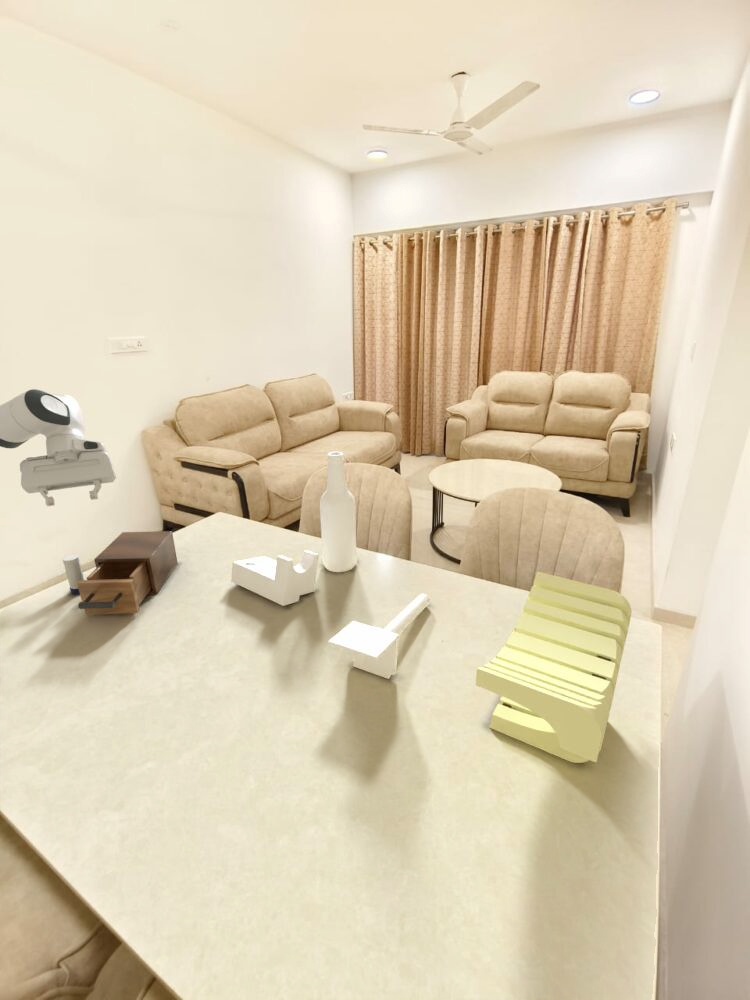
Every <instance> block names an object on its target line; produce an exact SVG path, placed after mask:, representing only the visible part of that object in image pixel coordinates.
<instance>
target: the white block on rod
mask: <svg viewBox="0 0 750 1000" xmlns="http://www.w3.org/2000/svg"><path fill="white" fill-rule="evenodd" d="M430 603H431V598H430V596H429V595H427V594H426V593H420V594H419V595H418V596H417V597H416V598H415V599H414V600H412V601H411V602H410V603H409V604H408V605H407V606H406V607H405V608H404V609H403V610H402V611H401V612H400V613H398V615H396V617H394V619H392V620H391V621H390V622H389V623H388V624H387V625H386V626H385V627H384V628H382V627H378V626H372V625H369V624H366V623H363V622H359V621H357V620H352V621H351V622H350V623H348V624H347V625H346V626H345V627H344V628H342V629H341V630H340V631H338V632H337V634H335V635H333V637H331V638H330V639H329V640H328V641H327V642H328V643H327V644H328V645H331V646H334V647H336V648H340V649H342V650H346V651H348V652H349V654H348V660H349V661H352V666H353V667H354V668H357V669H360V670H362V671H365V672H367V673H370V674H373V675H376V676H378V677H381V678H385V679H388V680H390V678H391V677H392V676H395V675H396V674H397V670H398V669H397V667H398V652H399V638H400V637H399V636H400V634H401V633H403V631H404V630H406V628H407V627H408V626H410V624H411V623H412V622H413V621H415V619H416V618H417V617H418V616H419V615H420V614H421V613H422V612H423V611H424V610H425V608H427V607H428V606H429V605H430Z"/></svg>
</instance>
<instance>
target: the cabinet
mask: <svg viewBox="0 0 750 1000" xmlns="http://www.w3.org/2000/svg"><path fill="white" fill-rule="evenodd" d="M93 560H94V564H95V565H94V566H95V569H96V568H97V567H98V566H99V565H100V564H101V563H102V562H132V561H147V565H148V570H149V575H150V579H151V584H152V588H151V590H150V591H149V592H148V594H147V595H157V594H158V593H159V592H160V590H161V589H162V587H163V586H164V585H165V583H166V582H167V580H168V579H169V578H170V576H172V573H173V572H174V571H175V569H176V568H177V566H178V565H179V562H178V556H177V550H176V544H175V540H174V535H173V530H166V531H165V530H163V531H162V530H161V531H122V532H121V533H120V534H119V535H118V536H117V537H116V538H114V539H113V540H112V542H111V543H110V544H109V545H108V546H107V547H105V548H104V549H103V550H102V551H101V552H100V553H99V554H98V555H97V556H96V557H95V558H94V559H93Z"/></svg>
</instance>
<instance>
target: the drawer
mask: <svg viewBox="0 0 750 1000" xmlns="http://www.w3.org/2000/svg"><path fill="white" fill-rule="evenodd" d="M77 585H78V589H79V593H80V594H79V596H80V600H81V601H80V602H79V603H78V605H77V608H78V609H79V610H83V612H84V614H85V615H98V614H99V615H101V614H138V613H139V612H140V609H141V608H140V605H141V603H142V602H143V600H145V598H146V597H147V595H149V594H148V592H149V591H150V590H151V588H152V584H151V579H150V575H149V570H148V565H147V561H132V562H102V563H101V564H100V565H99V566H98V567H97V568H96V567H95V569H94V570H93V571H91V572H90V574H89V575H88V576H87V577H86V579H84V580H80V581H79V582H77Z"/></svg>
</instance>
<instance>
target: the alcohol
mask: <svg viewBox="0 0 750 1000" xmlns="http://www.w3.org/2000/svg"><path fill="white" fill-rule="evenodd" d="M344 456H345V454H344V453H343V452H341V451H329V452H327V454H326V457H327V459H326V461H327V477H326V478H327V483H326V489H325V491H324V492H323V493H322V494H321V497H320V500H319V518H320V519H319V520H320V534H321V535H320V536H321V550H322V551H321V552H322V553H321V554H322V555H321V556H322V564H323V566H324V568H325V569H326V570H327V571H330V572H333V573H345V572H349V571H350V570H352V569H354V568H355V567H356V565H357V563H358V553H357V552H358V551H357V521H356V520H357V519H356V500H355V497H354V494H353V493H352V492H351V491H350V490H349V489H348V486H347V481H346V480H347V479H346V470H345V458H344Z"/></svg>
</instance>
